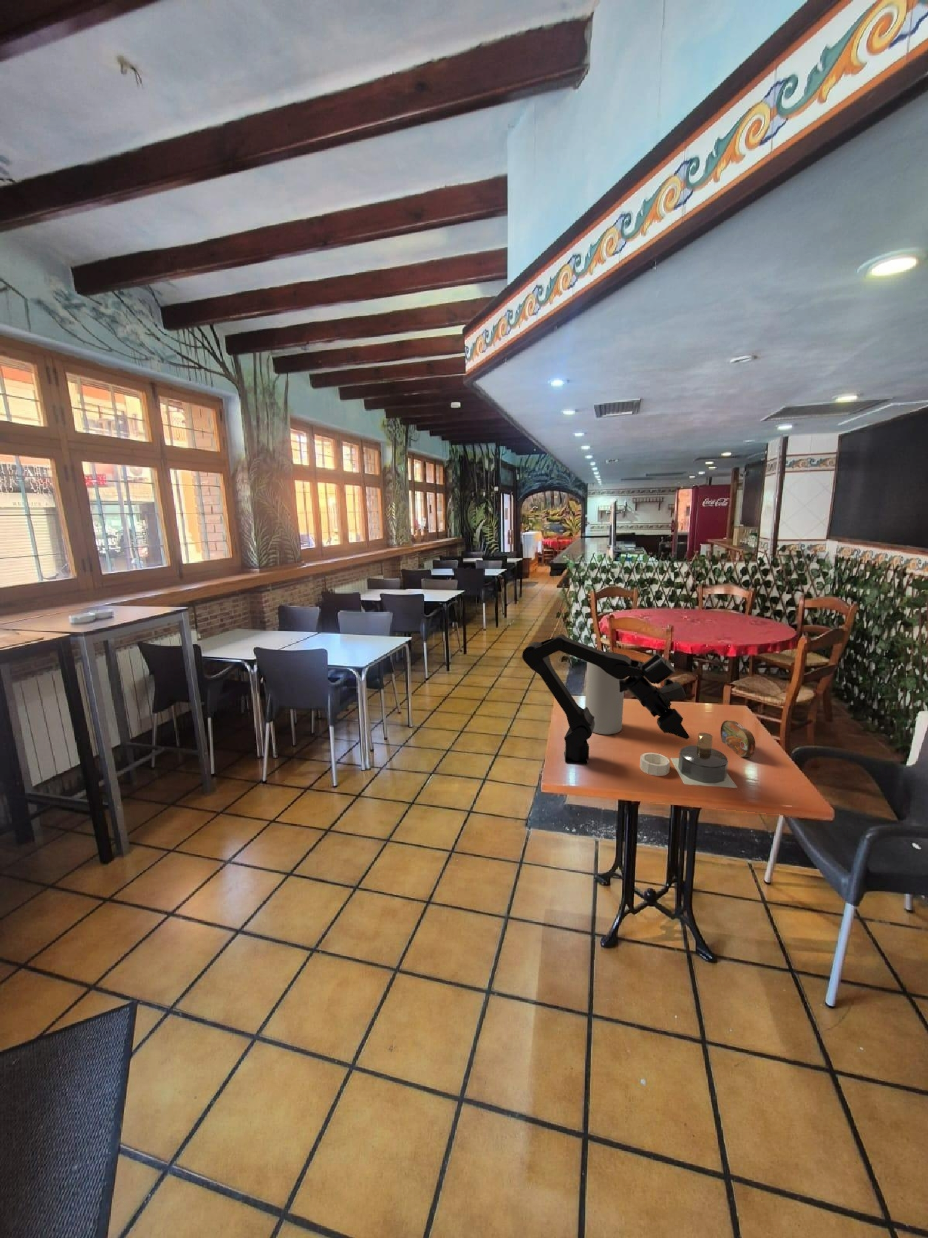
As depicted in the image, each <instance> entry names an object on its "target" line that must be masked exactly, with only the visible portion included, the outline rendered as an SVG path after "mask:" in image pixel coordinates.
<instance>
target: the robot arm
mask: <svg viewBox="0 0 928 1238" xmlns="http://www.w3.org/2000/svg"><path fill="white" fill-rule="evenodd" d="M557 652H562V653H564V654H566V655H569V656H572V657H575V658H577V659H580V660H582V661H585V662H586V663H587V662H589V663H592V664H594V665H597V666H598V667H600V668H601V669H602V670H603V671H605V672H606V673H607V674H609V675H611V676H612V677H614V678H616V679H619V691H620V692H623V691H624V692H625V691H626V690H628V691H629V692H630V693H631V694H632V696H633V697H635V699H637V701H638V702H639V703H640V704H641V706H642V707H644V708H646V709H647V710H648V712H649V713H650V715H651V716H652V717H653V718H655V717H657V716H658V717H657V719H656V724H657V725H658V727H659V729H660V730H661V732H663V733H664V734H671V735H674V736H675V737H676V736H677V737H679V738H682V739H684V740H688V739H690V737H691V736H690V735H689V733H688V732H687V730H686V729H685V727H684V726H683V724H682V722H683V721H684V717H683V716H682V714H681V713H680V712H679V711H678V710H677V709H676V708H671V705H672V703H671V702H674V701H676V700H679V699H684V698H685V697H687V694H686V692H685V690H684V688H683V686H682V684H681V683H680V682H679V681H676V680H674V681H673V679H671V678H669V677H670V676H673V674H674V673H676V670H675V668H674V666H673V665H672V663H671V662H670V661H669V660H668V659H666V658H665V657H663V656H662V655H660V654H659V652H656V653H654V655H652V656H651V657H650V658H649V659H648V660H646V661H645V662H644V661H640V660H636V659H633V658H632V659H631V657H630V656H628V655H627V654H622V653H617V652H613V651H611V652H610V651H603V650H600V649H598V648H595V647H593V646H589V645H588V644H585V643H582V642H579V641H577V640H574V639H572V638H569V637H566V636H565V635H563V634H558V635H556V636H554V637H552V638H548V639H545V640H543V641H541V642H539V641H534V642H531V643H530V644H528V646H527V647H525V648H524V649H523V651H522V653H521V654H522V655H521V656H522V660H523V661H524V663H525V664H526V665H527V666H528V667H529V668H530V669H531V670H532V671H534V672H535V673H536V674H538V675H539V676H540V678H541V679H542V681H543V683H545V686H547V688H548V690H549V692H550V693H551V694H552V696H553V697H554V699H555V700H556V702H557V703H558V706H560V708H561V709H562V711H563V712H564V714H565V716H566V719H567V720H566V721H567V725H568V729H567V731H566V734H565V735H564V738H563V739H564V742H565V743H564V745H565V746H564V752H563V753H564V754H563V755H564V762H565V764H566V763H567V764H579V765H581V764H583V765H588V760H589V759H590V758H589V757H590V756H589V755H590V744H589V742H588V740H589V739H591V738H592V737H591V736H592V735H593V733H594V732H593V730H594V726H595V721H594V718H595V717H594V716H592V714H591V713H590V711H589V709H588V708H587V707H586V708H585V707H584V708H582V707H581V706H580V705H579V704H578V703H577V701H576V700H575V699H574V697H573V696H572V694H571V692H570V691H569V690H568V688H567V686H566V685H565V684H564V682H563V680H562V679H561V678H560V676H559V674H558V673H557V672H556V670H555V669H554V667H553V665H552V662H551V658H550V656H551V655H552V654H555V653H557ZM623 679H625V680H623ZM662 682H663V685H662V687H660V688H659V687H657V686H656V685H655V684H657V685H659V684H660V683H662ZM653 684H654V685H653Z"/></svg>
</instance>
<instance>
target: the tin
mask: <svg viewBox="0 0 928 1238" xmlns="http://www.w3.org/2000/svg"><path fill="white" fill-rule="evenodd" d="M720 738H721V742H722V743H724V744H725V745H726V746H728V748H730V749H731V750H732V751H733V752H734V753H735V754H736V755H738V756H739V757H740V758H750V757H753V755H754V753H755V749H756V739H755V736H754V735H753V733H752V732H751V731H750V730H748V729H747V728H746V727H744V726H743V725H741V724H740V723H739V722H737V721H734V720H727V719H726V720H724V721H723V722H722V724H721V727H720Z"/></svg>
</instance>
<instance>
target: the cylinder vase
mask: <svg viewBox="0 0 928 1238" xmlns="http://www.w3.org/2000/svg"><path fill="white" fill-rule="evenodd" d="M625 679H626V678H625ZM625 679H623V680H625ZM585 680H586V682H585V684H586V685H585V700H584V702H585V703H584V704H585V706H584V708H586V707H587V708H588V709H589V711H590V713H591V714H592V716H594V717H595V718H594V721H595V726H594V730H593V732H592V733H595V734H599V735H607V736H608V735H616V734H618V733H619V732H621V731H622V728H623V716H624V715H623V714H624V712H623V711H624V701H625V700H624V698H625V690H624V691H623V692H620V691H619V679H616V678H614V677H612V676H611V675H609V674H607V673H606V672H605V671H603V670H602V669H601V668H600V667H598V666H597V665H594V664H592V663H589V662H587V661H586V679H585Z"/></svg>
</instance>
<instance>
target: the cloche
mask: <svg viewBox="0 0 928 1238" xmlns="http://www.w3.org/2000/svg"><path fill="white" fill-rule="evenodd" d="M697 735H698V736H697V744H696V745H693V744H692V745H686V746H683V747H681V749H680V752H679V754H678V755H679V757H678V758H679V765H678V768H679V770H680V772H681V773H682V774H683V775H685V776H686V777H688V778H690V779H692V780H696V781H699V782H702V783H719V782H722V781H724V780H725V778H726V775H727V774H728V765H729V760H728V757H727V756H726V754H724V753H723V752H722V751H719V750H717V749H714V748H713V747H712V746H713V738H714V736H713V735H712V734H711V733H707V732H699V733H698V734H697Z"/></svg>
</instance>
